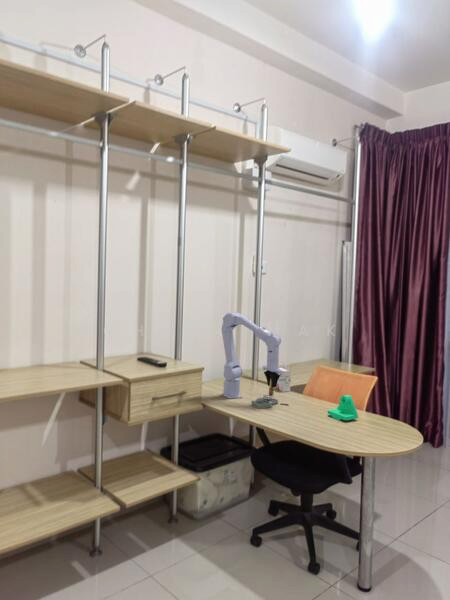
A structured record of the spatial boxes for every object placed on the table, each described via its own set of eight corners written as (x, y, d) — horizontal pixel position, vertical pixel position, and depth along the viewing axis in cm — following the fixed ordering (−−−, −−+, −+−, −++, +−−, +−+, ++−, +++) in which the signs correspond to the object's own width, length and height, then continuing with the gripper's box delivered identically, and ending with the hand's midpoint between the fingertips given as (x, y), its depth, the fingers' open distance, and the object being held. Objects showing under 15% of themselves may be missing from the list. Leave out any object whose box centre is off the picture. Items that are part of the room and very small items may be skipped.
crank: (269, 401, 241) (269, 392, 241) (262, 400, 242) (262, 391, 242) (275, 396, 251) (275, 388, 250) (268, 395, 252) (268, 387, 252)
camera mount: (326, 415, 224) (327, 393, 223) (338, 413, 227) (339, 392, 227) (345, 423, 213) (346, 400, 213) (357, 420, 217) (358, 398, 217)
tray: (251, 404, 239) (252, 400, 239) (264, 403, 242) (265, 399, 241) (258, 408, 232) (258, 404, 232) (271, 407, 235) (271, 403, 235)
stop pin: (268, 389, 243) (269, 377, 242) (274, 389, 243) (274, 377, 243) (270, 390, 240) (270, 378, 240) (275, 390, 240) (276, 378, 240)
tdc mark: (280, 404, 240) (280, 403, 240) (280, 403, 241) (280, 403, 241) (288, 405, 239) (288, 404, 239) (288, 404, 240) (288, 404, 240)
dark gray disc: (252, 400, 246) (252, 398, 246) (271, 398, 251) (271, 396, 251) (262, 406, 236) (262, 404, 236) (281, 404, 241) (282, 402, 241)
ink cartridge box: (275, 388, 274) (276, 362, 273) (283, 387, 276) (283, 362, 275) (282, 392, 266) (283, 365, 265) (290, 391, 268) (291, 365, 267)
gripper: (258, 357, 245) (257, 383, 246) (274, 362, 232) (273, 390, 233) (269, 356, 248) (269, 382, 249) (286, 361, 236) (285, 389, 236)
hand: (271, 386), depth 241 cm, fingers closed on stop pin, 3 cm apart
